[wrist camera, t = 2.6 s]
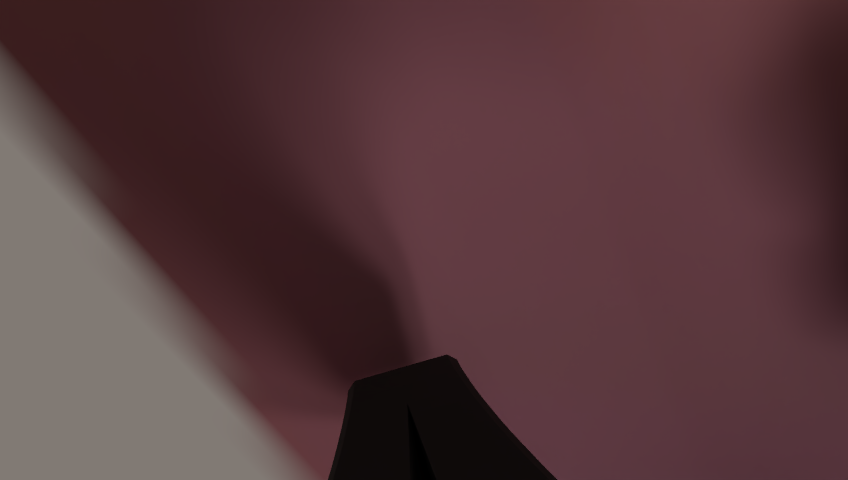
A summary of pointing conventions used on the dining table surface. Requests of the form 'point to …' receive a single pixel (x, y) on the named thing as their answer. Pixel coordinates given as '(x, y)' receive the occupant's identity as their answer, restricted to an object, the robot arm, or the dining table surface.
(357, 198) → the dining table surface
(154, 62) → the dining table surface
